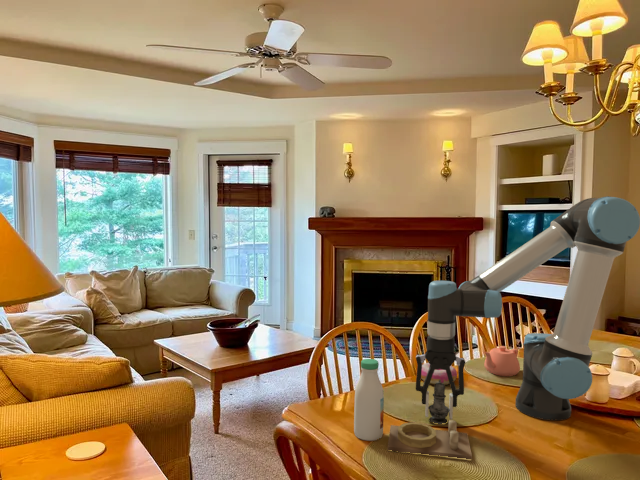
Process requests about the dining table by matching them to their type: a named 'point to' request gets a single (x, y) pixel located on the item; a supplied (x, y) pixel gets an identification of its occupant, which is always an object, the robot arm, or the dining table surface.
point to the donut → (437, 374)
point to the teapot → (502, 361)
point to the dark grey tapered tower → (439, 405)
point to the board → (435, 448)
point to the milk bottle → (369, 403)
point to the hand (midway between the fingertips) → (438, 416)
